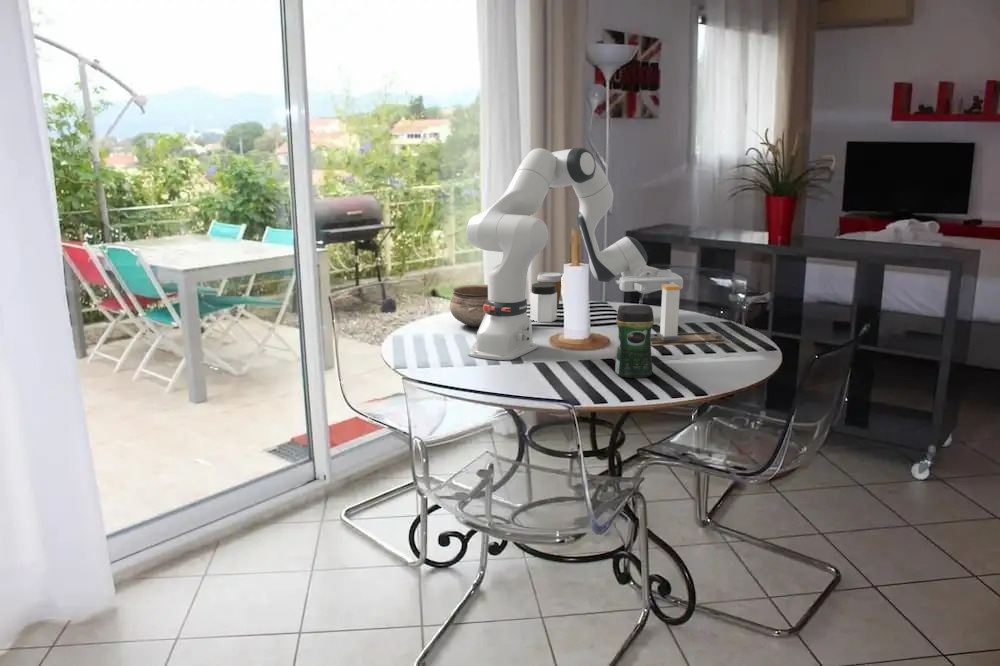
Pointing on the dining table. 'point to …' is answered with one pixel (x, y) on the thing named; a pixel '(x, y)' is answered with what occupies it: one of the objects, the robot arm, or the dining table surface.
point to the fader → (669, 312)
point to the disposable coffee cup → (551, 281)
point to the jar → (543, 302)
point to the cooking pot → (469, 304)
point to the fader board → (690, 339)
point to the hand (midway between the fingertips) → (658, 288)
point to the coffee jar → (634, 341)
